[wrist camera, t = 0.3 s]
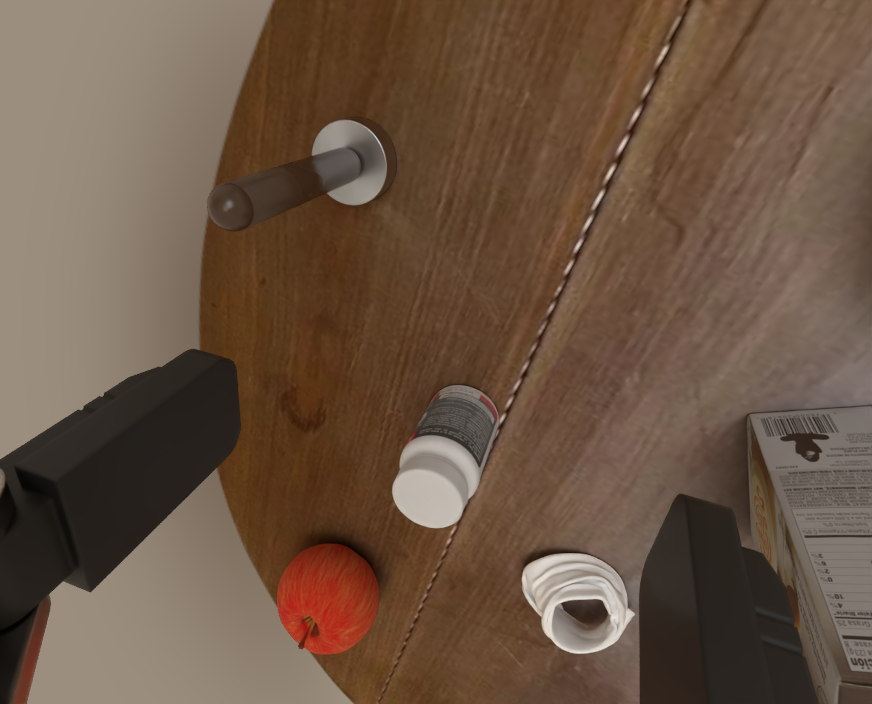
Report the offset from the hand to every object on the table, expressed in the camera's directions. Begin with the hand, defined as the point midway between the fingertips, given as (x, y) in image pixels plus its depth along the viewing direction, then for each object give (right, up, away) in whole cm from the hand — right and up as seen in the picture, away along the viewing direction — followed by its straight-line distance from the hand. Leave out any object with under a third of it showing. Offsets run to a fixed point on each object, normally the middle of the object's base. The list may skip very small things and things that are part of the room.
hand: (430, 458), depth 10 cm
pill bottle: (+2, -2, +27) cm, 27 cm away
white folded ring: (+10, -15, +31) cm, 36 cm away
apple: (-7, -16, +37) cm, 41 cm away
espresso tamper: (-4, +13, +21) cm, 25 cm away
